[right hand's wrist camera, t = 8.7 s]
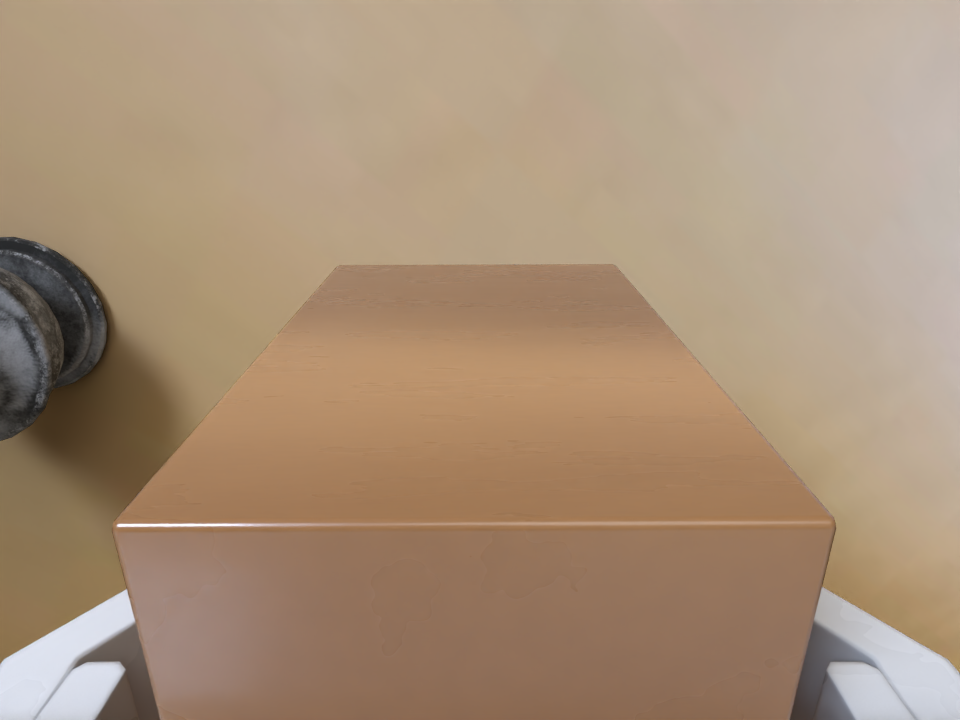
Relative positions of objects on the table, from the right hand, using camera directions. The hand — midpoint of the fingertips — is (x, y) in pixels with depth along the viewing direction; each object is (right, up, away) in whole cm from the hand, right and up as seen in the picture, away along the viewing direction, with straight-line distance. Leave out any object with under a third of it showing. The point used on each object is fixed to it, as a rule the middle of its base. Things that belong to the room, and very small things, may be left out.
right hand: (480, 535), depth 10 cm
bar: (0, -6, +5) cm, 8 cm away
